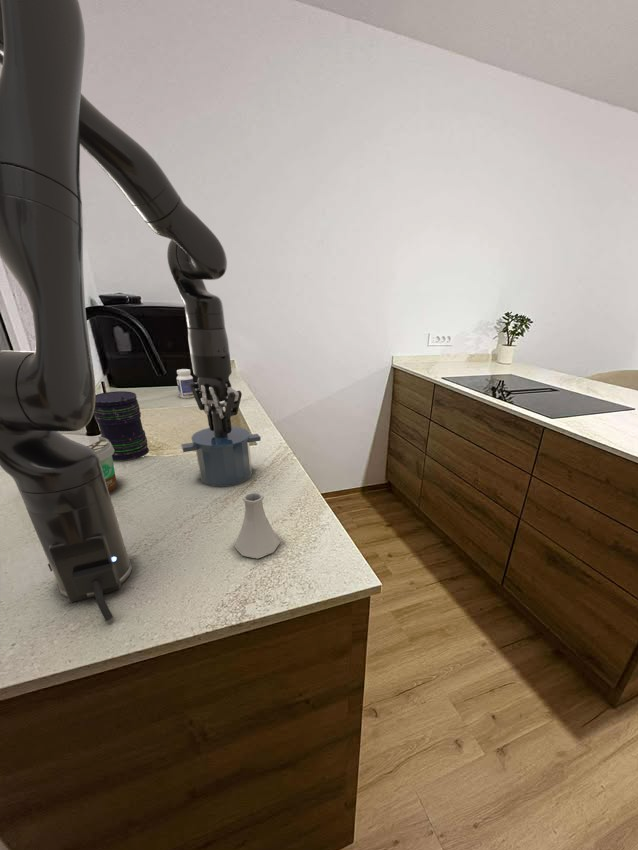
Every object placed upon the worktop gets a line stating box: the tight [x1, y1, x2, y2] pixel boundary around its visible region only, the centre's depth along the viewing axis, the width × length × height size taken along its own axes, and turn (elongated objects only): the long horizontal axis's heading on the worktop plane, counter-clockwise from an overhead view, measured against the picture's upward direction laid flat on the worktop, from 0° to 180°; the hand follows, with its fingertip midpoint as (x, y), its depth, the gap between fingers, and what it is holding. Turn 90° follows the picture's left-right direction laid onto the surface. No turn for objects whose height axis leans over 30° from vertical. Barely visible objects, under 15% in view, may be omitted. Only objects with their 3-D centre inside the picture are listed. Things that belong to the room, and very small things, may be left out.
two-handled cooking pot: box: [181, 433, 261, 488], centre depth 89 cm, size 11×17×10 cm
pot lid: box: [191, 409, 251, 448], centre depth 85 cm, size 12×12×7 cm
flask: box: [234, 491, 281, 560], centre depth 65 cm, size 7×7×10 cm
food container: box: [86, 436, 118, 494], centre depth 80 cm, size 12×6×10 cm, turn 168°
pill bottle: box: [176, 368, 195, 399], centre depth 146 cm, size 6×6×10 cm
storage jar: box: [93, 390, 150, 462], centre depth 96 cm, size 10×10×15 cm
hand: (220, 431), depth 86 cm, fingers open, 3 cm apart
